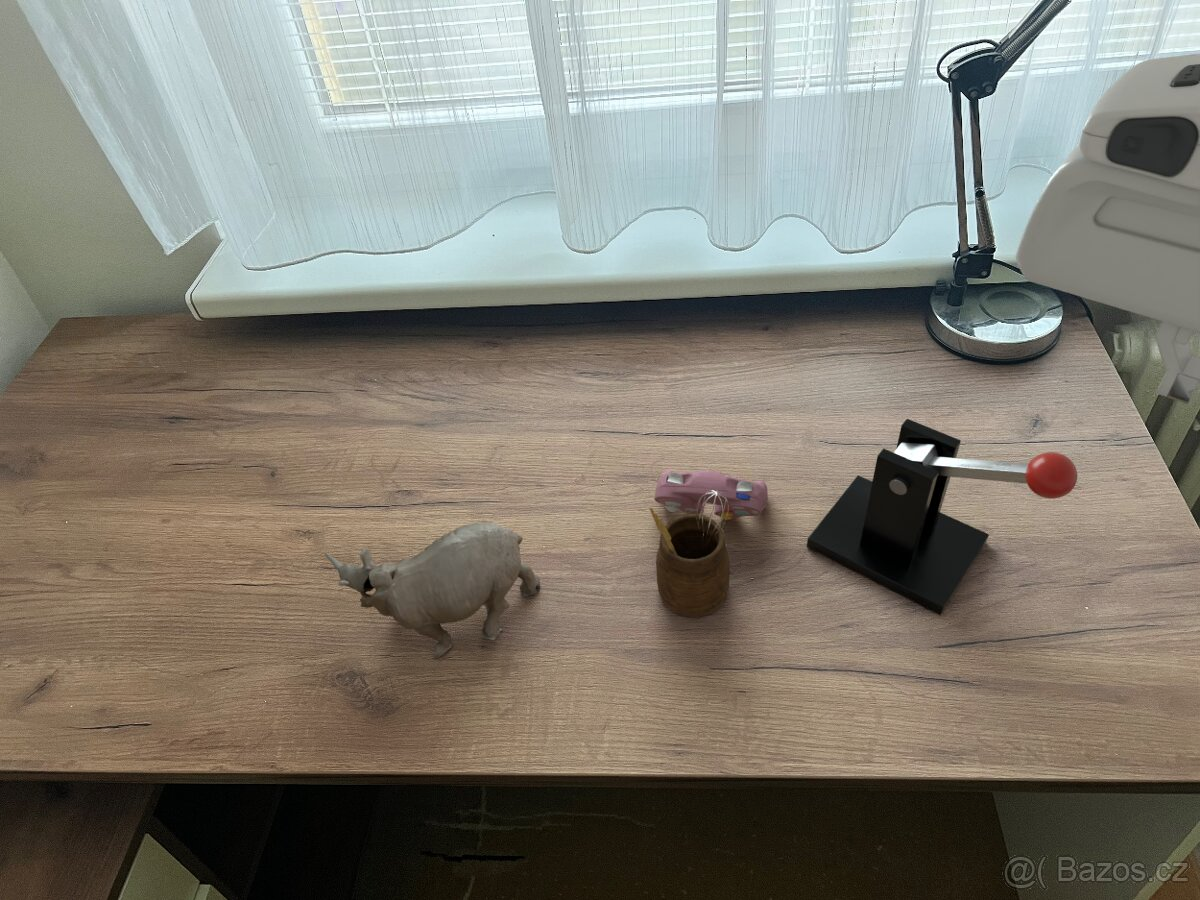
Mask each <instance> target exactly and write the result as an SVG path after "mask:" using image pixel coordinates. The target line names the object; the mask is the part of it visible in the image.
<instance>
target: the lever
mask: <svg viewBox="0 0 1200 900" xmlns="http://www.w3.org/2000/svg"><path fill="white" fill-rule="evenodd" d="M896 448H897V447H896ZM893 453H896V454H898V455H900V456H903V457H905V458H907V459H910V460H912V461H914V462H917V463H919V464H921V465H924V466H926V467H928V468H931V469H933V470H935V471H938V475H939V476H950V478H960V479H961V478H962V479H970V480H971V479H973V480H984V481H993V482H996V481H997V482H1003V483H1014V484H1015V483H1017V484H1027V486H1028V488H1029V489H1030V491H1032V492H1033V493H1034V494H1035V495H1037V496H1038V497H1041V498H1043V499H1049V500H1050V499H1051V500H1053V499H1054V500H1055V499H1059V498H1063V497H1065V496H1067V495H1068V494H1070V493H1071V492H1072V491H1073V490H1074V488H1075V486H1076V484H1077V481H1078V470H1077V467H1076V465H1075V463H1074V462H1073V461H1072V460H1071V459H1070V458H1069V457H1068V456H1067V455H1064V454H1062V453H1059V452H1053V451H1049V452H1042V453H1039V454H1038V455H1036V456H1034V457H1033V458H1031V460H1030V461H1029V462H1016V461H1015V462H1014V461H1001V460H1000V461H999V460H988V459H976V458H975V459H974V458H962V457H961V458H960V457H956V458H949V457H938V454H937V451H936V447H935V445H931V444H915V443H901V444H900V445H899V446H898V448H897V449H895V450H894V451H893Z"/></svg>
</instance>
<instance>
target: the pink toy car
mask: <svg viewBox="0 0 1200 900" xmlns="http://www.w3.org/2000/svg"><path fill="white" fill-rule="evenodd" d="M708 490H713V491H708ZM717 490H718V491H717ZM707 491H708V492H707ZM706 492H707V493H709V494H706ZM715 492H717V493H718V494H720V495H717V496H716V494H715V495H714V493H715ZM720 492H721V493H720ZM723 493H724V494H725V495H726V497H725V495H724V494H723ZM704 494H706V497H705V495H704ZM703 495H704V496H703ZM712 495H713V496H712ZM721 495H722V496H721ZM702 496H703V497H702ZM710 496H711V497H710ZM715 496H716V500H715ZM718 496H719V497H720V498H719V497H718ZM723 496H724V497H725V498H726V499H725V498H724V497H723ZM701 497H702V498H701ZM709 497H710V498H709ZM700 498H701V499H700ZM704 498H705V501H706V500H707V499H708V498H709V499H708V500H707V501H706V502H705V501H704ZM720 499H721V501H720ZM699 500H700V502H699ZM714 500H715V505H714V511H713V513H714V515H715V516H717V517H719V518H721V516H722V520H724V521H725V520H726V521H729V520H731V519H739V518H741V517H759V516H761V515H762V514H763V510H764V508H765V507H766V505H767V503H768V500H769V495H768V486H767V483H766V481H765V480H757V481H752V480H748V479H744V478H740V477H733V476H730V475H727V474H724V473H722V472H719V471H716V470H711V469H707V470H705V469H704V470H698V471H693V472H690V471H689V472H688V471H673V470H671V469H668V470H665V471H664V472H663V473H662V475H660V477H659V479H658V481H657V483H656V487H655V491H654V501H655V502H656V503H658V504H661V505H663V506H665V509H666V510H667V511H668V512H671V513H676V512H679V511H681V512H684V513H686V514H696V513H697V514H700V513H701V514H702V511H701V509H702V506H703V513H704V511H705V506H706V504H709V505H713V504H714ZM725 500H727V501H728V503H727V501H726V503H725ZM703 502H704V503H705V504H704V505H703ZM721 502H722V504H721ZM698 504H699V506H698ZM728 504H729V509H728ZM722 505H723V510H724V512H723V515H722ZM724 505H725V508H724ZM697 507H698V510H697ZM727 511H728V515H727ZM726 516H727V519H726Z"/></svg>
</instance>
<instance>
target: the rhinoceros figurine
mask: <svg viewBox="0 0 1200 900" xmlns="http://www.w3.org/2000/svg"><path fill="white" fill-rule="evenodd" d="M523 539H524V538H523V537H522V536H521V535H520V534H519V533H518V532H514V531H513V530H512V529H510V528H507V527H505V526H502V525H500V524H497V523H495V522H473V523H468V524H465V525H462V526H459V527H457V528H455V529H454V530H451V531H449V532H448V533H445V534H443V535H442V536H441V537H440V538H437V539H435V540H434V541H433V542H432V543H431V544H430V545H428V546H426V547H425V548H424V550H422V551H420V552H419V553H418V554H417V555H415V556H413V557H405V558H402V559H400V560H399V561H398V562H397V561H396V562H394V563H381V564H379V565H377V564H376V563H375V562H374V560H373V558H372V555H371V552H370V549H369V548H368V547H367V546H366V547H364V548H363V549H362V550H361V552H360V553H359V558H360V560H361V562H362V564H352V563H348V562H346V563H343V562H342V561H340V560H338V559H336V558H334V557H333V556H332V555H330V554H329V553H328V552H324V556H325V557H326V559H327V560H329V561H330V563H331V564H332V566H333V567H334V568H335V569H336V570H337V571H338V575H339V579H340V580H339V581H338V582H337V584H338V585H339V586H340V587H347V588H350V589H351V590H352V589H353V590H355V591H356V592H357V593H360V595H361V598H359V601H360V607H361V608H366V609H370V608H374V609H376V611H377V612H378V613H379V614H380V615H382V616H385V617H391V618H393V619H394V620H395V621H396V622H397V623H398V624H399V625H400V626H401V627H402V628H404V629H405V630H413V631H414V632H416V633H418V634H419V635H422V636H425V637H429V638H431V639H432V640H434V641H436V642H438V643H437V644H436V646H435V649H434V653H433V658H436V659H439V658H440V657H442V656H443V655H445V654H446V653H447V652H448V651H449V650H450V649H451V648H452V647H453V646H454V644H453V643H451V642H452V638H453V637H452V636H451V634H450V633H449V632H448V630H446V629H445V628H443V626H441V625H442V624H447V623H458V622H461V621H464V620H466V619H468V618H470V617H472V616H473V615H474V614H476V613H477V612H478V611H479V610H480V609H481V607H482V606H484V607H485V608H486V613H487V614H486V619H485V620H484V622H483V625H482V626H483V627H482V631H481V632H482V633H481V636H480V639H483V638H484V639H485V640H491V641H495V640H496V638H497V637H499V635H500V632H502V631H503V630H504V628H503V627H501V625H500V622H499V619H500V617H501V615H502V614H503V613H504V612H505V611H506V610H508V609H509V607H510V604H509V602H508V601H507V600H506V598H505V597H506V595H507V594H508V593H509V591H510V590H511V589H512V588H513V586H514V584H515V583H516V581H517V580H518V578H519V579H521V584H520V585H519V587H520V590H521V592H520V593H522V595H523V597H529V596H530V595H531V596H532V595H536V594H538V592H539V590H536V589H537V586H538V587H539V588H541V581H540V577H539V575H537V574H535V573H534V571H533V569H532V568H531V566H530V565H528V564H526V562H524V561H522V558H521V548H520V544H522V542H523V541H524V540H523ZM538 584H539V585H538ZM374 590H375V591H374ZM371 591H374V592H373V593H372V595H371V594H369V593H368V592H371Z"/></svg>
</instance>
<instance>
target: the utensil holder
mask: <svg viewBox="0 0 1200 900" xmlns="http://www.w3.org/2000/svg"><path fill="white" fill-rule="evenodd" d="M708 491H713V490H708ZM708 491H707V492H708ZM717 491H718V490H717ZM707 492H706V494H709V493H707ZM720 493H721V492H720ZM706 494H704V495H705V497H706ZM715 494H716V496H717V495H720V494H718V493H717V492H715V493H714V495H715ZM723 494H724V493H723ZM704 495H703V496H704ZM724 495H725V494H724ZM703 496H702V497H703ZM712 496H713V495H712ZM716 496H715V500H716ZM721 496H722V495H721ZM702 497H701V498H702ZM710 497H711V496H710ZM710 497H709V498H710ZM718 497H719V496H718ZM723 497H724V496H723ZM725 497H726V495H725ZM725 497H724V498H725ZM701 498H700V499H701ZM709 498H708V499H709ZM719 498H720V497H719ZM708 499H707V500H708ZM725 499H726V498H725ZM707 500H706V501H707ZM715 500H714V504H712V508H711V513H710V516H706V515H703V514H704V512H703V506H702V509H701V511H702V513H700V514H697V513H696V514H692V513H685V514H681V515H678V516H676V517H674V518H672V519H670V520H669V521H668V522H666V524H664V521H663V520H662V518H661V516H660V517H659V515H658V513H657V512H655V511H654V509H653V507H652V506H649V507H648V509H649V510H650V513H651V516H652V518H653V520H654V524H655V525H656V527H657V529H658V531H659V532H660V537H659V540H658V541H659V542H658V548H657V552H656V557H655V568H656V569H655V570H656V585H657V591H658V594H659V597H660V599H661V600H662V603H663V604H664V605H665V606H666V607H667V608H668V609H669V610H670V611H672V612H674V613H675V614H677V615H680V616H683V617H688V618H700V617H705V616H708V615H710V614H712V613H714V612H715V611H717V610H718V609H720V607H721V606H722V605H723V603H724V602H725V601H726V599H727V596H728V593H729V589H730V571H731V570H730V568H731V566H730V553H729V549H728V547H727V540H726V536H725V532H724V531H723V527H724V525H725V523H726V521H727V520H725V519H724V522H723V524H722V520H723V518H722V516H721V517H719V520H718V522H717V521H716V520H714V519H713V518H712V517H713V513H714V510H715ZM704 501H705V498H704ZM706 501H705V502H706ZM720 501H721V499H720ZM726 501H727V500H725V503H726ZM699 502H700V500H699ZM727 503H728V501H727ZM704 504H705V505H706V503H704V502H703V505H704ZM721 504H722V502H721ZM698 506H699V504H698ZM724 508H725V505H724ZM728 509H729V504H728ZM697 510H698V507H697ZM723 512H724V510H723V505H722V515H723ZM727 515H728V511H727ZM726 519H727V516H726ZM721 524H722V526H721Z"/></svg>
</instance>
